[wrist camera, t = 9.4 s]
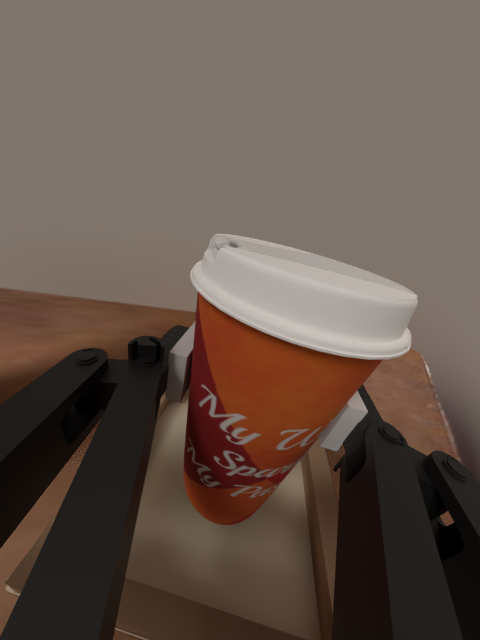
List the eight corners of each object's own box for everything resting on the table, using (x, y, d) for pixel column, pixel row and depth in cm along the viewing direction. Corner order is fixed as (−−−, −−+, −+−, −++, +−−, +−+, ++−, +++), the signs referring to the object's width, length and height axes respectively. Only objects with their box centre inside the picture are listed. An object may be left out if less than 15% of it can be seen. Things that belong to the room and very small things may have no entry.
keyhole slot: (371, 719, 8) (400, 721, 7) (8, 591, 9) (-7, 578, 8) (300, 360, 30) (306, 350, 29) (197, 330, 30) (199, 319, 29)
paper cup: (155, 575, 9) (201, 268, 3) (170, 418, 15) (193, 222, 9) (305, 537, 11) (519, 324, 5) (263, 414, 18) (332, 255, 11)
